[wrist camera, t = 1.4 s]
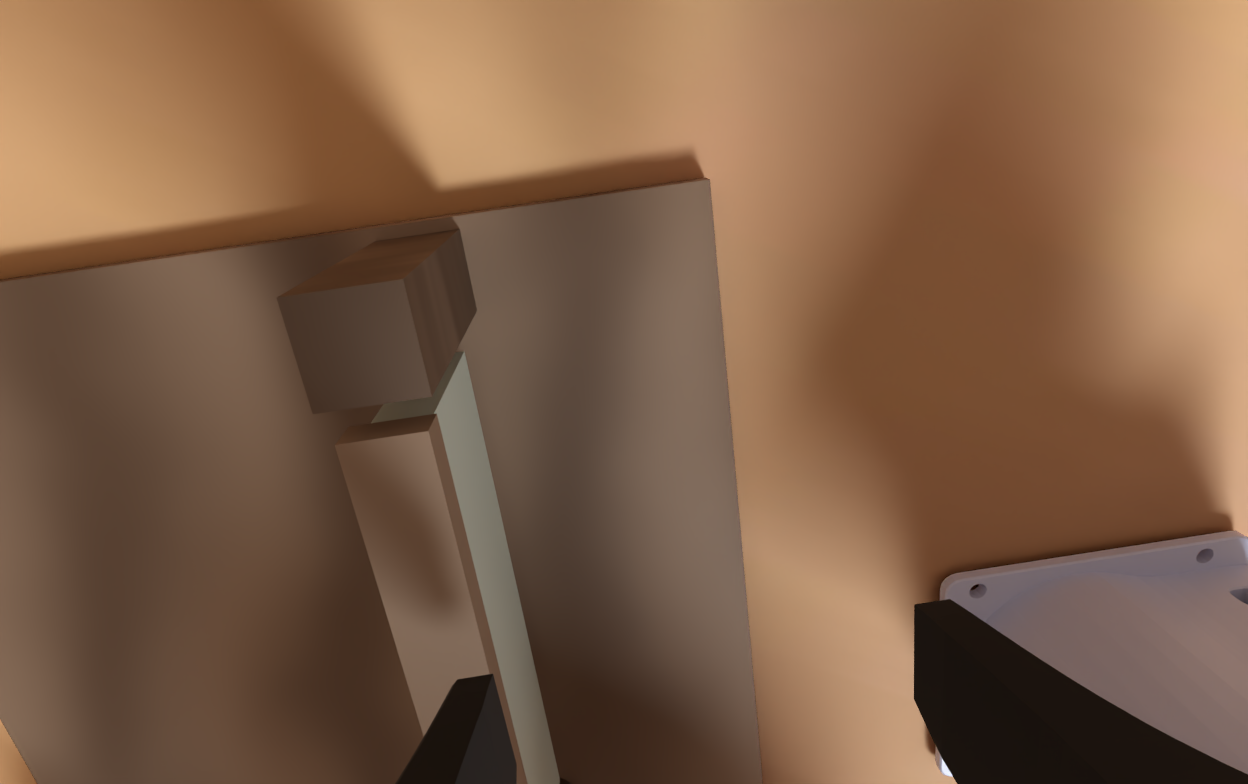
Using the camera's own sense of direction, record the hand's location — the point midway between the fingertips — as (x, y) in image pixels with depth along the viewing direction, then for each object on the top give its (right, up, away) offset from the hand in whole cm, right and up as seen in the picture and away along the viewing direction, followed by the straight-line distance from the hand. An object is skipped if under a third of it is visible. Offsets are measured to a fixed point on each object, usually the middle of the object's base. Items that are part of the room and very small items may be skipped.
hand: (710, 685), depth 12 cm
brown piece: (-9, -2, +9) cm, 13 cm away
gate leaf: (-5, -1, +8) cm, 9 cm away
